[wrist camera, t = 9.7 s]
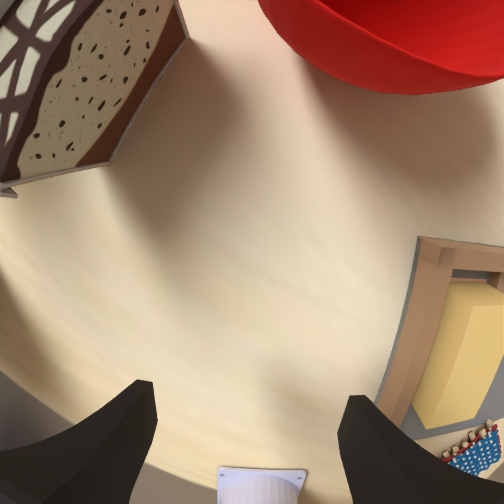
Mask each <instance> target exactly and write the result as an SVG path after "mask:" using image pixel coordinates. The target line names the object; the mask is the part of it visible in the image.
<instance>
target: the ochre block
mask: <svg viewBox="0 0 504 504" xmlns="http://www.w3.org/2000/svg"><path fill="white" fill-rule="evenodd" d="M503 355H504V293H502V292H500V291H499V290H497V289H495V288H494V287H492V286H490V285H488V284H487V283H485V282H483V281H453V280H450V284H449V288H448V293H447V297H446V300H445V304H444V308H443V312H442V315H441V319H440V322H439V325H438V329H437V332H436V335H435V338H434V341H433V345H432V348H431V351H430V353H429V356H428V359H427V362H426V365H425V368H424V370H423V373H422V376H421V378H420V381H419V383H418V386H417V388H416V391H415V393H414V396H413V398H412V400H411V404H412V406H413V408H414V409H415V411H416V413H417V415H418V416H419V418H420V420H421V422H422V423H423V425H424V427H425V429H431V428H436V427H440V426H445V425H449V424H453V423H457V422H461V421H465V420H469V419H473V418H474V417H475V416H476V414H477V412H478V410H479V408H480V406H481V404H482V402H483V400H484V398H485V396H486V394H487V392H488V390H489V387H490V385H491V383H492V381H493V379H494V376H495V374H496V372H497V369H498V367H499V365H500V362H501V360H502V357H503Z"/></svg>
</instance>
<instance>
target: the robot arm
mask: <svg viewBox="0 0 504 504" xmlns="http://www.w3.org/2000/svg"><path fill="white" fill-rule="evenodd" d="M157 422H158V419H157V412H156V405H155V397H154V389H153V382H149V381H144V380H138V379H137V380H136V381H134V382H133V383H132V384H131V385H129V386H128V387H127V388H126V389H125V390H123V391H122V392H121V393H120V394H118V395H117V396H116V397H115V398H113V399H112V400H111V401H110V402H108V403H107V404H106V405H104V406H103V407H102V408H100V409H99V410H98V411H96V412H95V413H93V414H92V415H90V416H89V417H87V418H86V419H84V420H83V421H81V422H80V423H78V424H76V425H75V426H73V427H71V428H69V429H67V430H65V431H63V432H61V433H59V434H57V435H55V436H52V437H49V438H47V439H45V440H42V441H39V442H37V443H33V444H30V445H27V446H23V447H19V448H16V449H11V450H5V451H0V504H129V500H130V496H131V493H132V490H133V487H134V485H135V482H136V480H137V477H138V475H139V473H140V470H141V468H142V465H143V463H144V461H145V458H146V456H147V453H148V451H149V449H150V446H151V444H152V441H153V437H154V433H155V430H156V426H157ZM337 434H338V442H339V449H340V456H341V459H342V463H343V467H344V470H345V474H346V477H347V481H348V485H349V488H350V492H351V495H352V499H353V504H504V484H503V483H498V482H495V481H491V480H487V479H483V478H480V477H477V476H475V475H472V474H469V473H467V472H464V471H462V470H460V469H458V468H456V467H454V466H452V465H450V464H448V463H446V462H444V461H442V460H441V459H439V458H437V457H436V456H434V455H433V454H431V453H430V452H428V451H426V450H425V449H424V448H422V447H421V446H419V445H418V444H417V443H416V442H414V441H413V440H412V439H411V438H409V437H408V436H407V435H406V434H405V433H404V432H402V431H401V430H400V429H399V428H398V427H397V426H396V425H395V424H394V423H393V422H392V421H390V420H389V419H388V418H387V417H386V416H385V415H384V414H383V413H382V412H381V411H380V410H379V409H378V408H377V407H376V406H375V405H374V404H373V403H372V402H371V401H370V400H369V399H368V398H367V397H366V396H365V395H351V396H349V399H348V402H347V405H346V408H345V412H344V415H343V418H342V421H341V424H340V426H339V429H338V432H337ZM305 478H306V471H305V470H265V469H245V468H232V467H219V468H218V472H217V483H218V504H298V503H297V499H298V497H299V494H300V491H301V489H302V486H303V483H304V481H305Z"/></svg>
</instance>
